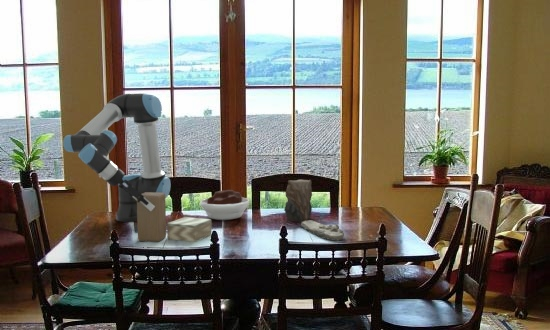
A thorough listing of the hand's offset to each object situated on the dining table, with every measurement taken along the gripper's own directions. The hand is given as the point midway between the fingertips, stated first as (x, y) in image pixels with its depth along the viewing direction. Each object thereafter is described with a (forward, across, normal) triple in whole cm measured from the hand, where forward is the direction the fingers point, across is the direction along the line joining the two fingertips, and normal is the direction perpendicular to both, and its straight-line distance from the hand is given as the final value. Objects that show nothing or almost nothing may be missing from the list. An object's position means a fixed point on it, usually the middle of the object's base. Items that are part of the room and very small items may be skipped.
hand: (149, 206), depth 236 cm
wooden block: (+11, 0, -10) cm, 15 cm away
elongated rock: (+61, +25, +40) cm, 78 cm away
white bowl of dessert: (+42, -25, +21) cm, 54 cm away
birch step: (+22, +4, +2) cm, 23 cm away
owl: (+65, -4, +44) cm, 79 cm away
